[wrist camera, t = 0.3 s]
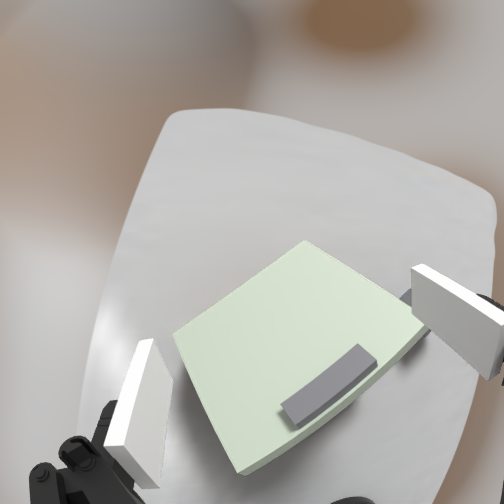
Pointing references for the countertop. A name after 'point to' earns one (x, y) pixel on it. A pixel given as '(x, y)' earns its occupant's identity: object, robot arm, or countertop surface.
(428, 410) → the countertop surface
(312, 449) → the countertop surface
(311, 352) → the lid
